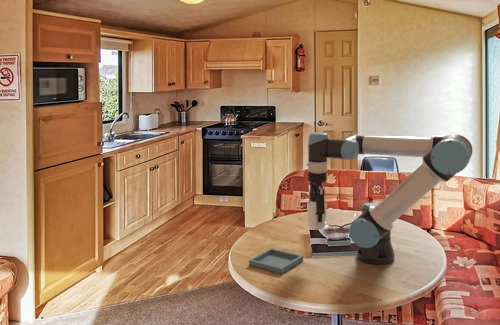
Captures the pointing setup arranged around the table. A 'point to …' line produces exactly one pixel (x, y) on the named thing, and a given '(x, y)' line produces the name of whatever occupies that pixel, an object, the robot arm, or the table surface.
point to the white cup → (312, 216)
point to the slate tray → (276, 261)
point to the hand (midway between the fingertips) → (316, 225)
